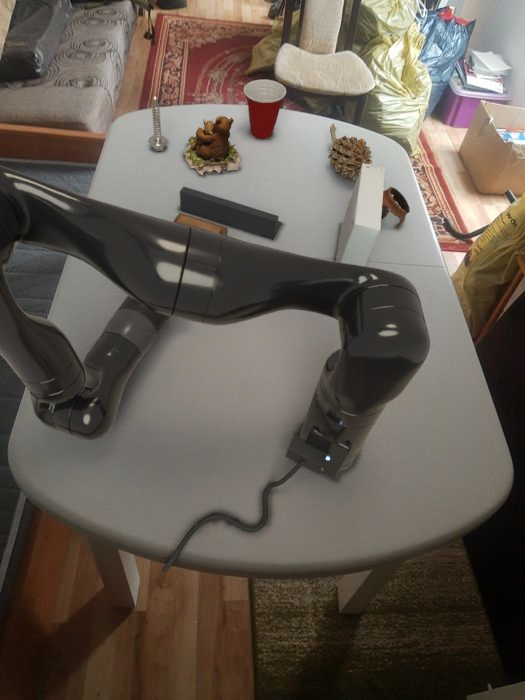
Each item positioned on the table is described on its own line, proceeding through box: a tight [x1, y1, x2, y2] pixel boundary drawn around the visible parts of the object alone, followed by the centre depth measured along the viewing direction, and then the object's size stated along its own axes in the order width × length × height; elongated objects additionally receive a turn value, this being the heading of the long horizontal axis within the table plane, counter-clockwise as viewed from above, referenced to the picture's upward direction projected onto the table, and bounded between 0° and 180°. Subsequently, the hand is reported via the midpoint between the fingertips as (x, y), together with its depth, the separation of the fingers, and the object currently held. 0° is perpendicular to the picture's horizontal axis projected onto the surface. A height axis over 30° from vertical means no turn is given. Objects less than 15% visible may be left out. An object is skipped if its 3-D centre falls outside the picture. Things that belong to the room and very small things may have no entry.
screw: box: [147, 95, 169, 152], centre depth 116 cm, size 13×5×5 cm
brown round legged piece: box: [381, 186, 411, 228], centre depth 110 cm, size 12×10×8 cm
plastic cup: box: [243, 79, 287, 140], centre depth 126 cm, size 11×11×12 cm
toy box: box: [172, 212, 229, 236], centre depth 92 cm, size 10×10×9 cm
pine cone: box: [327, 122, 373, 181], centre depth 121 cm, size 22×10×10 cm, turn 19°
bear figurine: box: [183, 114, 242, 176], centre depth 116 cm, size 14×15×12 cm
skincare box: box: [335, 163, 386, 266], centre depth 97 cm, size 21×5×16 cm, turn 168°
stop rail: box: [179, 186, 283, 241], centre depth 105 cm, size 6×22×5 cm, turn 70°
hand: (181, 259), depth 87 cm, fingers closed
